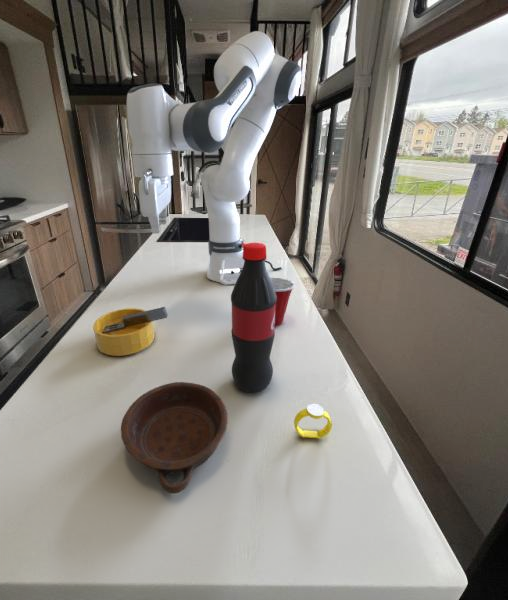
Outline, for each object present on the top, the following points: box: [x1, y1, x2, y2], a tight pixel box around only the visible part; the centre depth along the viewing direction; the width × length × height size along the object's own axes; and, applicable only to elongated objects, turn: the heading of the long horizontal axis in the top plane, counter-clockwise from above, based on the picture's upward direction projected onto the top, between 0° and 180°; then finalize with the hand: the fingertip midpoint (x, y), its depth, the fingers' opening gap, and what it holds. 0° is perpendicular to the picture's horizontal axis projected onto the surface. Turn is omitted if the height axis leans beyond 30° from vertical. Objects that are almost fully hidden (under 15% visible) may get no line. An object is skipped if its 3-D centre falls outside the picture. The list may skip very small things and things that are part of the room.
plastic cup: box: [270, 276, 295, 327], centre depth 89 cm, size 11×11×12 cm
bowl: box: [92, 307, 155, 357], centre depth 82 cm, size 14×14×6 cm
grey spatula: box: [102, 306, 169, 334], centre depth 81 cm, size 17×3×2 cm, turn 90°
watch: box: [293, 403, 333, 440], centre depth 54 cm, size 6×3×6 cm, turn 87°
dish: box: [120, 381, 229, 495], centre depth 55 cm, size 18×22×5 cm
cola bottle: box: [230, 242, 277, 393], centre depth 62 cm, size 8×8×30 cm
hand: (159, 228), depth 80 cm, fingers open, 8 cm apart
